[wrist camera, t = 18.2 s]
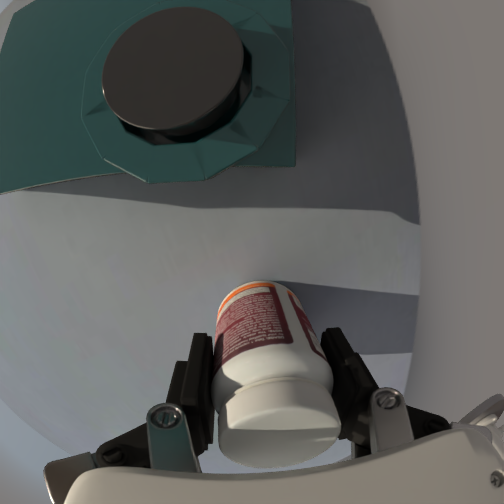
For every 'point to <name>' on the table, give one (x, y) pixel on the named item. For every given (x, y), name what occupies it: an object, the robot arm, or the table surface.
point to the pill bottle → (270, 380)
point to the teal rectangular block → (112, 127)
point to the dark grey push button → (174, 71)
